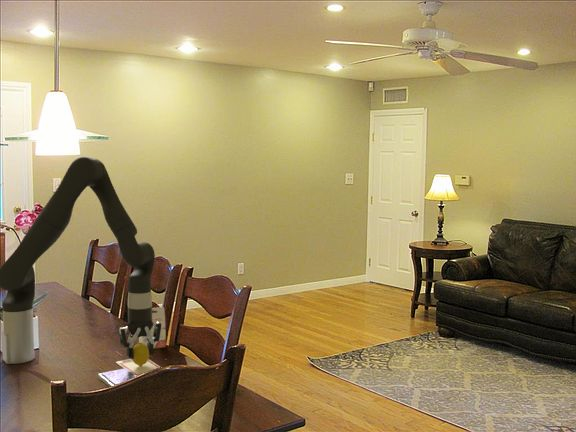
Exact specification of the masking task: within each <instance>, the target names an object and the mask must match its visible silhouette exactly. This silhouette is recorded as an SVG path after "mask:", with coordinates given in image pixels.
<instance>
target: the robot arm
mask: <svg viewBox="0 0 576 432" xmlns="http://www.w3.org/2000/svg"><path fill="white" fill-rule="evenodd" d="M87 187H89V188H90V189H91V190H92V191H93V193H94V194H95V195H96V197H97V199H98V201H99V203H100V205H101V209H102V213H103V215H104V219H105V222H106V224H107V226H108V227H109V229H110V231H111V232H112V234H113V235H114V237H115V238H116V241H117V244H118V248H119V251H120V253H121V256H122V258H123V261H124V262H125V263H126V264H127V265H128V266H130V267H133V271H132V273H131V274H129V275H128V279H127V280H128V282H127V283H128V284H127V285H128V288H127V289H128V295H127V321H128V322H127V325H126V326H125V327H122V326H121V327H118V334H119V341H120V345H121V346H122V347H124V348H126V356H127V357H128V358H129V359H133V347H134V344H135V342H136V341H137V339H139V337H141V336H145V337H146V339H147V341H148V343H147V347H148V350H149V357H150V356H152V355H153V354H154V351H155V350H154V342H156V341H159V339H160V331H161V323H159V322H152V313H153V311H152V308H153V299H152V298H153V296H152V274H153V270H154V265H155V257H156V255H155V250H154V248H153V246H152V245H151V243H149V242H146V241H143V242H139V243H138V241H137V239H136V236H137V234H138V229H137V227H136V225H135V223H134V221H133V220H132V219H131V217H130V215H129V214H128V212H127V211H126V209H125V207H124V205H123V203H122V202H121V200H120V198H119V197H118V194H117V192H116V189H115V187H114V185H113V183H112V181H111V177H110V175H109V173H108V170H107V167H106V166H105V164H104V163H103V162H102V160H100V159H98V158H94V157H88V156H80V157H77V158H76V159H74V160H73V161H72V162H71V164H70V165H69V167H68V168H67V170H66V172H65V174H64V176H63V178H62V179H61V181H60V183H59V184H58V187H57V188H56V190H55V191H54V193H53V194H52V196H51V197H49V200H48V202H47V203H46V204H45V206H44V207H43V208H42V209H41V211H40V212H39V214H38V215H37V217H36V218H35V219H34V221H33V223H32V225H31V226H30V228H29V229H28V230H27V232H26V233H25V235H24V237H23V238H22V240H21V241H20V243H19V244H18V246H17V247H16V249H15V250H14V251H13V253H11V254H10V256H9V257H8V258H7V260H5V262H4V263H3V264H2V265H1V266H0V288H1V289H2V290H4V291H6V295H5V298H4V300H3V301H2V305H1V307H2V308H1V309H2V332H1V347H2V348H1V349H2V351H1V352H2V360H3V361H4V362H5V364H6V365H10V364H11V365H13V364H15V365H17V364H25V363H28V362H30V361H33V360H35V339H34V338H35V335H34V307H33V306H34V305H33V304H34V300H35V297H36V296H35V295H36V273H35V269H34V265H35V264H36V262H37V261H38V259H39V258H41V256H43V254H45V253H46V252H47V251H48V250H49V249H50V248H51V247H52V246H53V245H55V243H56V242H57V241H58V239H60V237H61V236H62V235H63V233H64V231H65V230H66V228H67V227H68V225H69V223H70V221H71V218H72V214H73V209H74V206H75V204H76V202H77V200H78V198H79V197H80V195H81V194H82V193H83V192H84V190H85V189H86V188H87ZM152 327H153V328H154V333H153V338H152V335H151V333H150V330H151V328H152ZM128 332H129V335H128V338H127V333H128Z"/></svg>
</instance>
